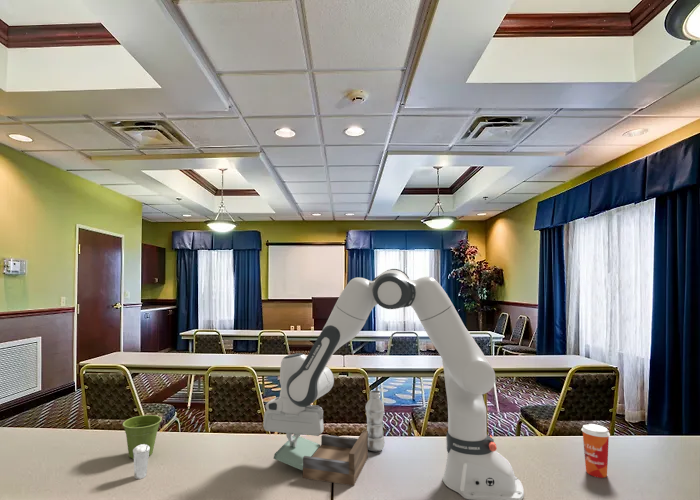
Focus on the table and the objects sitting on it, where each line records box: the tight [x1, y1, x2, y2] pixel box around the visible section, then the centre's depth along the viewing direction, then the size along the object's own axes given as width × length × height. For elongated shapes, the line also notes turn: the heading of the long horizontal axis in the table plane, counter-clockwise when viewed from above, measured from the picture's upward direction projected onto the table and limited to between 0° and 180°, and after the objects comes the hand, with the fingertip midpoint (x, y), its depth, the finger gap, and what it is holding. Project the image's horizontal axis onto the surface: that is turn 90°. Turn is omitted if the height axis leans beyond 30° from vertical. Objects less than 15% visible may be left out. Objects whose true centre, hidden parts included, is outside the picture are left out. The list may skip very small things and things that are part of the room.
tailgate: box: [273, 434, 321, 471], centre depth 133 cm, size 2×16×10 cm
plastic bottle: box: [365, 389, 386, 452], centre depth 143 cm, size 6×7×20 cm
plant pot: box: [122, 414, 163, 460], centre depth 137 cm, size 12×12×11 cm
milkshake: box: [133, 444, 150, 480], centre depth 123 cm, size 4×5×10 cm
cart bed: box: [302, 430, 369, 487], centre depth 129 cm, size 16×18×9 cm
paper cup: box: [581, 423, 611, 479], centre depth 127 cm, size 8×8×14 cm
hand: (293, 446), depth 133 cm, fingers closed
